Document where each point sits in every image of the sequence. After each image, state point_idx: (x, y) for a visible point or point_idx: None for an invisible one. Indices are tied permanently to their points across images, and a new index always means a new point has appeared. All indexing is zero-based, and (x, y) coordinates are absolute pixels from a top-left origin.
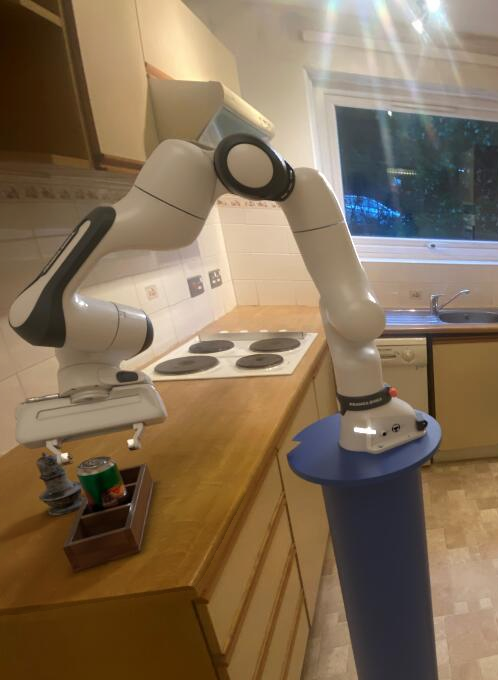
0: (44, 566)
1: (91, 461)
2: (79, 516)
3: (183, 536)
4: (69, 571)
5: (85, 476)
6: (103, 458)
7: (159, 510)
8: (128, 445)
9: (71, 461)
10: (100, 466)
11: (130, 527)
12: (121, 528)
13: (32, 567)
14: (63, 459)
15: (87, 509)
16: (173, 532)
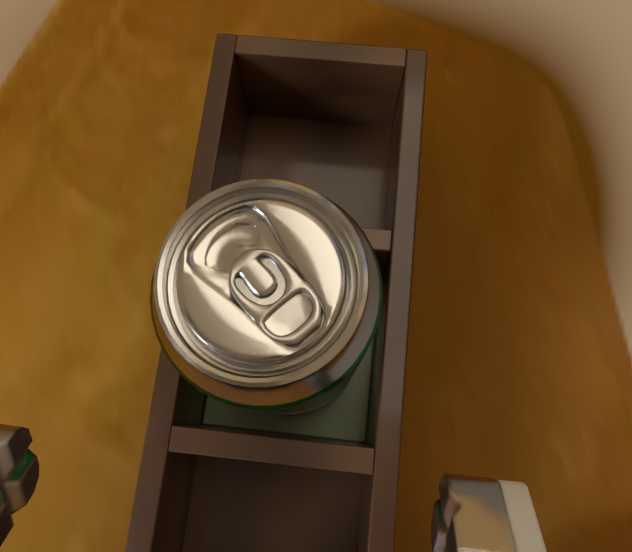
0: (501, 216)
1: (281, 329)
2: (398, 253)
3: (112, 110)
4: (424, 138)
5: (324, 197)
6: (198, 308)
7: (157, 346)
8: (3, 441)
9: (437, 522)
10: (222, 187)
11: (216, 38)
12: (244, 49)
13: (536, 235)
14: (485, 495)
15: (381, 347)
16: (135, 154)
